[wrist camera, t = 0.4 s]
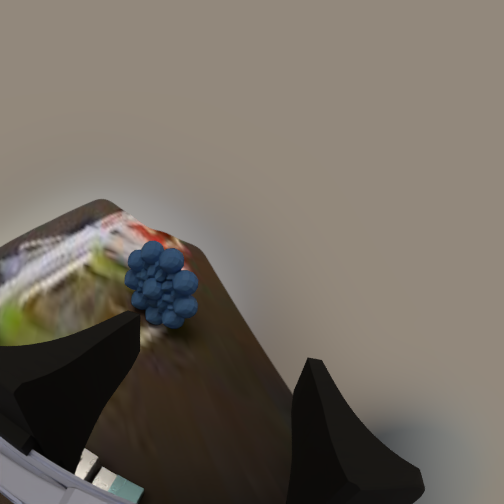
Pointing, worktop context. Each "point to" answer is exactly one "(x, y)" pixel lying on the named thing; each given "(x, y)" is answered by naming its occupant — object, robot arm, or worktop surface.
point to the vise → (118, 486)
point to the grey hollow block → (88, 466)
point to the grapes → (161, 285)
